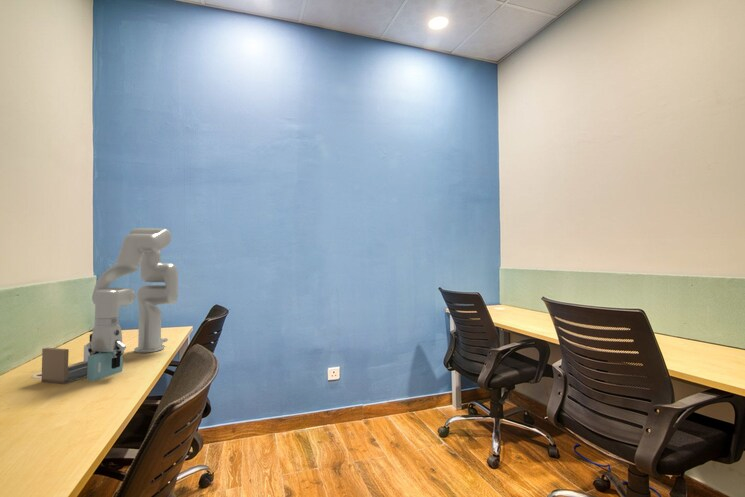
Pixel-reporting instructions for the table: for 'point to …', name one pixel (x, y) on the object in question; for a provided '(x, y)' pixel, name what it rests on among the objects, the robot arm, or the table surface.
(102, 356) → the door panel
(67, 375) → the door frame
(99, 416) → the table surface
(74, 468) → the table surface
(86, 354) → the medicine bottle
